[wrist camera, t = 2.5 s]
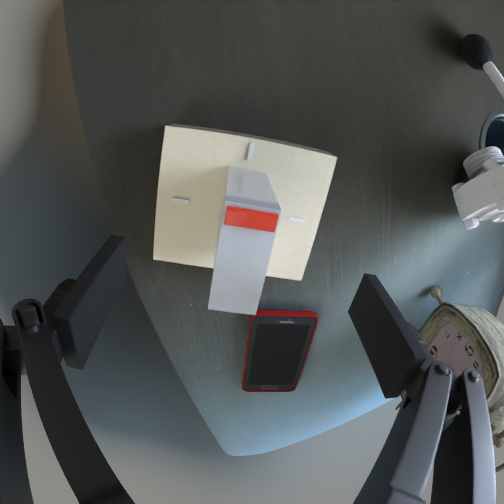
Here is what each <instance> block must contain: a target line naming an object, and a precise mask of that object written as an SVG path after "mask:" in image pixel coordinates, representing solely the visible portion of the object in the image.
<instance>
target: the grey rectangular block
mask: <svg viewBox="0 0 504 504" xmlns="http://www.w3.org/2000/svg"><path fill="white" fill-rule="evenodd" d="M281 212H282V210H281V208H280V205H279V203H278V200H277V198H276V195H275V193H274V191H273V188H272V186H271V183H270V181H269V179H268V176H267V174H266V172H261V171H256V170H250V169H244V168H238V167H232V166H229V167H228V173H227V179H226V184H225V190H224V196H223V202H222V208H221V214H220V220H219V226H218V232H217V239H216V245H215V253H214V261H213V269H212V277H211V286H210V294H209V303H208V309H211V310H219V311H226V312H234V313H242V314H250V315H256V311H257V307H258V303H259V300H260V296H261V292H262V288H263V284H264V280H265V276H266V272H267V268H268V265H269V261H270V257H271V253H272V249H273V245H274V241H275V237H276V233H277V229H278V225H279V220H280V216H281Z"/></svg>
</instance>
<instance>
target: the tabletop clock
mask: <svg viewBox="0 0 504 504" xmlns="http://www.w3.org/2000/svg"><path fill="white" fill-rule="evenodd" d="M431 295H432V297H434V298H437V299H438V301H439V303H440V306H438V307H437V308H436V309H435V310H434V311H433V313H432V314H431V315H430V317H429V318H428V320H427V321H426V322H425V324H424V325H423V327H422V328H421V329H420V331H419V332H418V333H419V335H420V337H421V338H422V340H423V341H424V343H425V344H426V346H427V348H428V349H429V351H430V353H431V354H432V356H433V358H434V359H435V360H439V361H442V362H444V363H445V364H447V365H448V366H449V368H450V369H451V371H452V373H456V374H460V375H461V373H462V372H463V371H464V369H465V368H472V369H475V370H476V371H477V372H478V373H479V374H480V376H481V378H482V381H483V385H484V390H485V395H486V400H487V405H488V411H489V417H490V424H491V431H492V439H493V446H494V445H495V446H496V447H497V448H499V447H501V446H502V445H503V442H504V441H503V439H502V438H503V437H504V431H502V432H501V433H499V431H500V430H501V429H502V428H503V427H504V326H503V325H502V324H501V323H500V322H499V321H498V320H497V319H496V318H495V317H494V316H493V315H492V314H490V313H489V312H488V311H486V310H484V309H482V308H479V307H474V306H468V305H461V304H455V303H448V302H444V300H443V299H442V297H441V295H442V289H441V287H440V286H434V287H432V289H431ZM400 395H401V397H402V400H403V399H404V398H405V396H406V395H407V393H406V391H405V389H404V390H403V391H402V393H401V394H400ZM460 412H461V408H460V410H459V414H460ZM502 469H504V463H503V464H502V465H500V466H498V467H495V472H499V471H500V470H502Z"/></svg>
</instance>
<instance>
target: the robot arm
mask: <svg viewBox="0 0 504 504" xmlns="http://www.w3.org/2000/svg"><path fill="white" fill-rule="evenodd" d="M125 280H126V279H125V237H120V236H114V235H111V237H110V238H109V239H108V240H107V242H106V243H105V244H104V245H103V246H102V248H101V249H100V250H99V251H98V253H97V254H96V255H95V256H94V258H93V259H92V260H91V261H90V263H89V264H88V265H87V267H86V268H85V269H84V271H83V272H82V273H81V275H80V276H79V277H78V279H77V280H74V279H66V280H65V281H63V282H62V283H60V284H59V285H58V286H57V288H56V289H55V290H54V292H53V293H52V294H51V295H50V298H48V300H47V301H46V302H45V304H44V305H43V306H42V305H41V303H40V302H39V301H37V300H35V299H24V300H22V301H20V302H18V303H17V304H16V305H15V306H14V307H13V309H12V316H13V320H14V322H15V325H16V326H4V325H3V323H2V320H1V319H0V504H34V503H33V499H32V494H31V489H30V484H29V479H28V473H27V466H26V459H25V452H24V442H23V431H22V417H21V375H27V376H28V379H29V383H30V387H31V389H32V393H33V397H34V400H35V403H36V406H37V409H38V412H39V415H40V418H41V421H42V423H43V426H44V429H45V431H46V434H47V436H48V439H49V441H50V444H51V446H52V449H53V451H54V453H55V455H56V458H57V460H58V462H59V464H60V466H61V468H62V471H63V472H64V475H65V477H66V479H67V481H68V483H69V484H70V486H71V488H72V490H73V492H74V493H75V496H76V497H77V499H78V502H79V504H135V503H134V502H133V500H132V499H131V497H130V496H129V495H128V493H127V492H126V490H125V489H124V488H123V486H122V485H121V483H120V481H119V480H118V479H117V477H116V475H115V474H114V472H113V471H112V469H111V467H110V466H109V464H108V462H107V461H106V459H105V457H104V456H103V454H102V452H101V451H100V448H99V447H98V445H97V443H96V441H95V439H94V438H93V436H92V434H91V432H90V430H89V428H88V426H87V424H86V422H85V420H84V418H83V416H82V414H81V412H80V409H79V407H78V405H77V403H76V401H75V398H74V396H73V394H72V392H71V389H70V387H69V384H68V382H67V380H66V377H65V375H64V372H63V370H62V367H61V364H60V363H61V361H62V359H63V357H64V359H65V362H66V365H67V366H70V367H74V368H77V369H80V370H83V368H84V366H85V363H86V361H87V359H88V357H89V354H90V352H91V350H92V348H93V346H94V343H95V341H96V339H97V337H98V335H99V333H100V331H101V329H102V327H103V325H104V323H105V321H106V318H107V317H108V315H109V313H110V311H111V309H112V306H113V305H114V302H115V300H116V299H117V297H118V295H119V293H120V291H121V289H122V287H123V285H124V284H125V282H126V281H125ZM348 313H349V315H350V317H351V320H352V322H353V324H354V326H355V328H356V331H357V333H358V335H359V337H360V340H361V342H362V344H363V346H364V349H365V351H366V353H367V356H368V358H369V360H370V363H371V365H372V367H373V370H374V372H375V375H376V377H377V379H378V382H379V384H380V387H381V389H382V392H383V394H384V397H385V398H395V397H398V396H399V395H400V394H401V393H402V391H403V390H404V389H405V391H406V393H407V395H406V396H405V398H404V399H403V400H402V401H401V402H400V404H399V405H398V406H397V407H396V410H397V409H398V408H399V407H400V409H399V412H398V414H397V417H396V419H395V421H394V424H393V427H392V429H391V431H390V433H389V435H388V438H387V440H386V442H385V444H384V447H383V448H382V451H381V453H380V455H379V457H378V459H377V461H376V463H375V465H374V467H373V469H372V471H371V472H370V474H369V476H368V478H367V480H366V482H365V484H364V485H363V487H362V489H361V491H360V492H359V494H358V496H357V497H356V499H355V501H354V503H353V504H426V502H425V501H423V500H422V499H421V497H422V494H423V491H424V488H425V486H426V483H427V480H428V477H429V474H430V471H431V468H432V464H433V461H434V473H433V484H432V494H431V503H430V504H496V475H495V460H494V448H493V439H492V431H491V424H490V417H489V411H488V405H487V400H486V395H485V390H484V385H483V381H482V378H481V376H480V374H479V373H478V372H477V371H476V370H475V369H472V368H465V369H464V371H463V372H462V373H461V375H460V374H456V373H452V371H451V369H450V368H449V366H448V365H447V364H445V363H444V362H442V361H439V360H435V359H434V358H433V356H432V354H431V353H430V351H429V349H428V348H427V346H426V344H425V343H424V341H423V340H422V338H421V337H420V335H419V333H418V332H417V330H416V329H415V328H414V327H413V326H412V325H411V324H410V323H407V322H406V320H405V319H404V317H403V316H402V314H401V312H400V311H399V309H398V308H397V306H396V305H395V303H394V302H393V300H392V299H391V297H390V296H389V294H388V293H387V291H386V290H385V288H384V287H383V285H382V284H381V282H380V281H379V279H378V278H377V277H376V275H371V274H365V273H364V276H363V278H362V280H361V283H360V285H359V288H358V290H357V292H356V295H355V297H354V299H353V301H352V304H351V306H350V308H349V310H348ZM460 408H461V412H460V414H459V410H460Z"/></svg>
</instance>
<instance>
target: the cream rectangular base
mask: <svg viewBox="0 0 504 504" xmlns="http://www.w3.org/2000/svg"><path fill="white" fill-rule="evenodd" d="M336 161H337V157H336V156H334V155H332V154H331V153H329V152H327V151H324V150H320V149H316V148H311V147H307V146H303V145H299V144H294V143H290V142H285V141H280V140H275V139H271V138H265V137H260V136H255V135H249V134H244V133H238V132H232V131H226V130H219V129H213V128H205V127H198V126H190V125H182V124H170V125H167V126H165V132H164V139H163V147H162V155H161V163H160V172H159V182H158V193H157V205H156V218H155V234H154V254H153V259H155V260H161V261H167V262H174V263H180V264H187V265H194V266H200V267H207V268H213V261H214V253H215V245H216V239H217V232H218V226H219V220H220V214H221V208H222V202H223V196H224V190H225V184H226V179H227V173H228V167H229V166H232V167H238V168H244V169H250V170H256V171H261V172H266V174H267V176H268V179H269V181H270V183H271V186H272V188H273V191H274V193H275V195H276V198H277V200H278V203H279V205H280V208H281V210H282V212H281V216H280V220H279V225H278V229H277V233H276V237H275V241H274V245H273V249H272V253H271V257H270V261H269V265H268V268H267V272H266V276H270V277H278V278H285V279H293V280H300V281H301V280H302V277H303V274H304V270H305V267H306V264H307V261H308V258H309V255H310V251H311V248H312V245H313V242H314V238H315V235H316V232H317V228H318V225H319V222H320V218H321V215H322V211H323V208H324V204H325V201H326V197H327V194H328V190H329V187H330V183H331V179H332V176H333V172H334V168H335V164H336Z"/></svg>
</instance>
